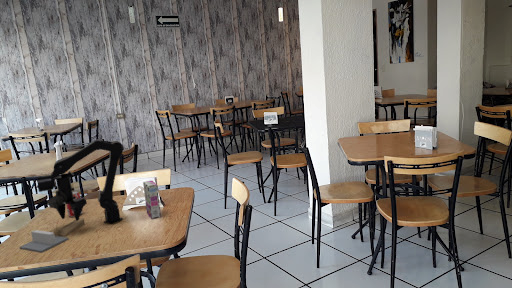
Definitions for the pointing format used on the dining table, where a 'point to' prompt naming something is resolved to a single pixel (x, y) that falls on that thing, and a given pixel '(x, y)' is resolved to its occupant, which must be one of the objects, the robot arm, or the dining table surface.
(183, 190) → the dining table surface
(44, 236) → the fulcrum stand
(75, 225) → the oak batten
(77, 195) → the soda can
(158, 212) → the candy bar box
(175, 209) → the dining table surface
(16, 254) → the dining table surface
